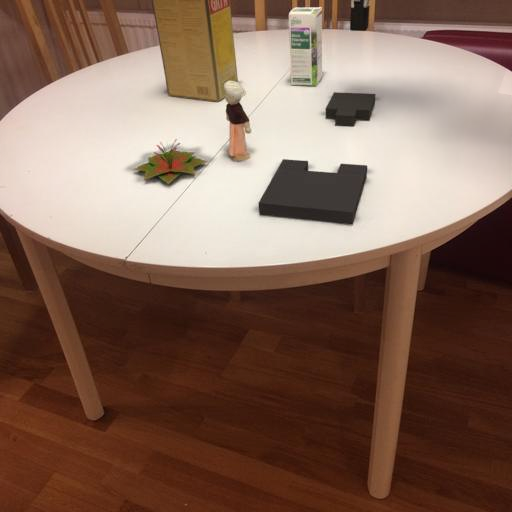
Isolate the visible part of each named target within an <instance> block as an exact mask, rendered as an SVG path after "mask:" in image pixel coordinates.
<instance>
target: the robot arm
mask: <svg viewBox="0 0 512 512" xmlns="http://www.w3.org/2000/svg"><path fill="white" fill-rule="evenodd" d="M350 4H351V5H350V16H349V17H350V18H349V19H350V20H349V30H350V31H352V32H366V31H367V30H368V28H369V26H370V25H369V23H370V0H351V1H350Z"/></svg>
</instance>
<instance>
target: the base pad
mask: <svg viewBox="0 0 512 512" xmlns="http://www.w3.org/2000/svg"><path fill="white" fill-rule="evenodd" d="M367 177H368V165H367V164H353V163H340V165H339V167H338V169H337V172H331V171H317V170H309V161H308V160H299V159H287V158H284V159H282V160H281V162H280V164H279V166H278V167H277V169H276V171H275V173H274V174H273V176H272V178H271V179H270V182H269V183H268V185H267V186H266V189H265V190H264V192H263V194H262V196H261V197H260V199H259V201H258V202H257V203H258V213H259V216H266V217H275V218H285V219H294V220H303V221H314V222H322V223H331V224H332V223H334V224H340V225H341V224H342V225H354V222H355V219H356V215H357V211H358V208H359V204H360V201H361V197H362V194H363V192H364V188H365V184H366V180H367Z"/></svg>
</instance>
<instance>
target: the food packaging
mask: <svg viewBox="0 0 512 512" xmlns="http://www.w3.org/2000/svg"><path fill="white" fill-rule="evenodd" d="M151 5H152V11H153V15H154V22H155V27H156V32H157V39H158V44H159V50H160V54H161V60H162V61H161V62H162V66H163V72H164V78H165V84H166V89H167V94H168V96H169V97H175V98H181V99H182V98H183V99H191V100H198V101H206V102H207V101H209V102H216V103H219V102H221V101H222V100H223V99H225V93H226V91H225V89H224V84H225V83H226V82H228V81H235V82H238V83H239V78H238V68H237V58H236V49H235V38H234V29H233V18H232V6H231V5H232V4H231V0H151Z"/></svg>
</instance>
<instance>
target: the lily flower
mask: <svg viewBox="0 0 512 512" xmlns="http://www.w3.org/2000/svg"><path fill="white" fill-rule="evenodd" d="M177 141H178V139H177V138H176V139H175V140H174V142H173V143H172V145H171V147H170V149H169V150H168V151H167V150H166V148H165V147H164V145H163V143H162V142H161V141H159V144H160V145H161V146H162V147H161V146H160V145H158V144H155V145H156V147H157V148H158V149H159V150H160V151H161V153H158V152H156V151H154V152H153V154H154V155H152V156H148V157H147V161H148V162H145V163H142V164H140V165H138V166H137V167H136V168H135V167H134V168H132V169H131V170H134V171H140V172H144V178H143V181H142V182H144V181H147V180H148V179H151V178H153V177H156V176H158V178H159V179H161V180H162V181H163V182H166V184H167V185H169V184H170V183H171V182H173V181H174V180H175V179H176V178H178V177H179V176H180V175H181V173H185V174H191V175H195V176H197V174H196V171H195V167H197V166H199V165H203V164H205V163H209V162H210V161H208V160H205V159H202V158H199V157H193V156H194V155H195V154H196V153H197V152H196V151H181V150H177V149H178V147H177V146H180V145H181V142H178V143H177V144H176V145H175V146H174V144H175V143H176V142H177ZM166 143H167V145H168V142H166ZM192 157H193V158H192Z"/></svg>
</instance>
